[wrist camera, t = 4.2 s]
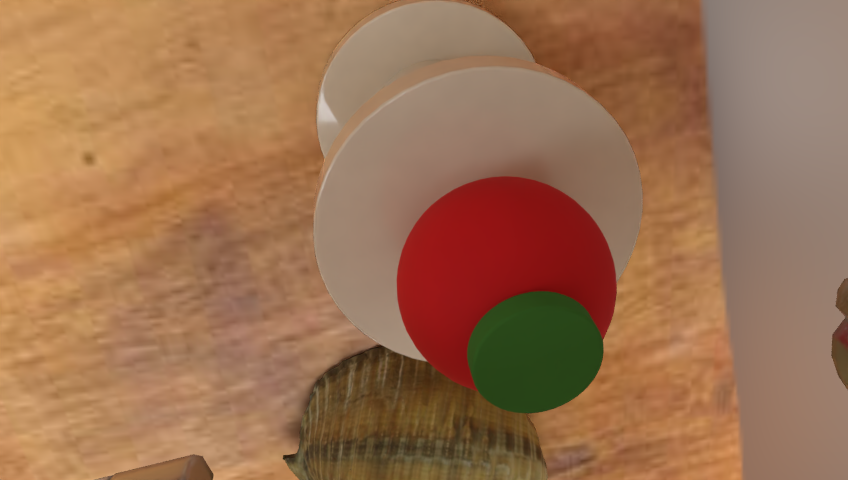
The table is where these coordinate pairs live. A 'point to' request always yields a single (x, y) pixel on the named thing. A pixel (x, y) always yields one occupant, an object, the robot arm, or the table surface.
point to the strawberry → (509, 292)
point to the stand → (447, 145)
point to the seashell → (409, 427)
